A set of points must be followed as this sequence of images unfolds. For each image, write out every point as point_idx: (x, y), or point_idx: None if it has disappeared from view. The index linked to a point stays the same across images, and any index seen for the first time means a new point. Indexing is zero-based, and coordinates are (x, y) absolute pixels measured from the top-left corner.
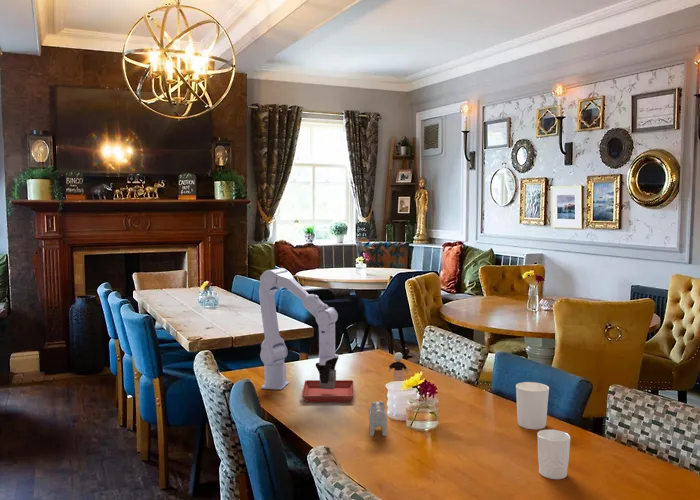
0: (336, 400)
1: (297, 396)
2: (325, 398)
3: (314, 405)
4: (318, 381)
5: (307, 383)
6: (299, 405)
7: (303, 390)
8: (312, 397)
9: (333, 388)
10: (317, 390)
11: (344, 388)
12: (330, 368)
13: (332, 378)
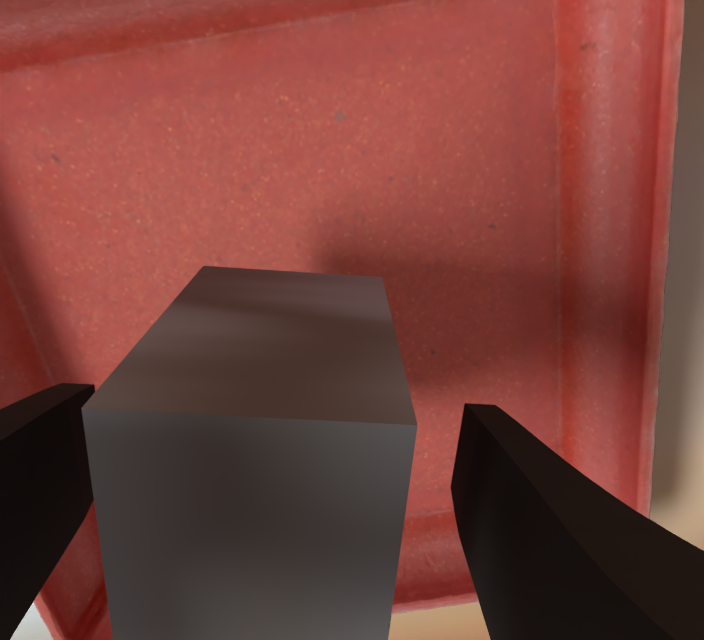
0: (584, 171)
1: None
2: (618, 317)
3: (684, 393)
4: None
5: (89, 607)
6: (670, 520)
7: (450, 599)
8: (629, 465)
9: (367, 279)
10: None
11: (6, 153)
12: (658, 599)
13: (400, 365)
